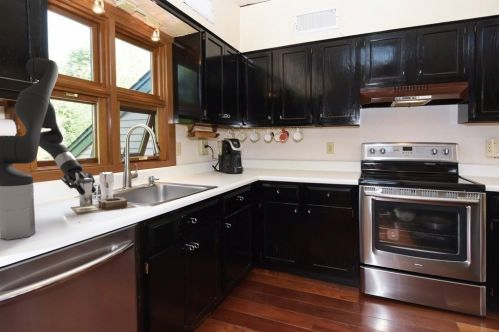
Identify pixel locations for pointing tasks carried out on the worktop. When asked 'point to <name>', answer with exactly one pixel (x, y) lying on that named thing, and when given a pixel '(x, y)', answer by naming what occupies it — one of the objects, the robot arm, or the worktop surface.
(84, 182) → the grey mottled cylinder
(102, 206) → the bore block
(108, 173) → the beer glass
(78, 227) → the worktop surface
